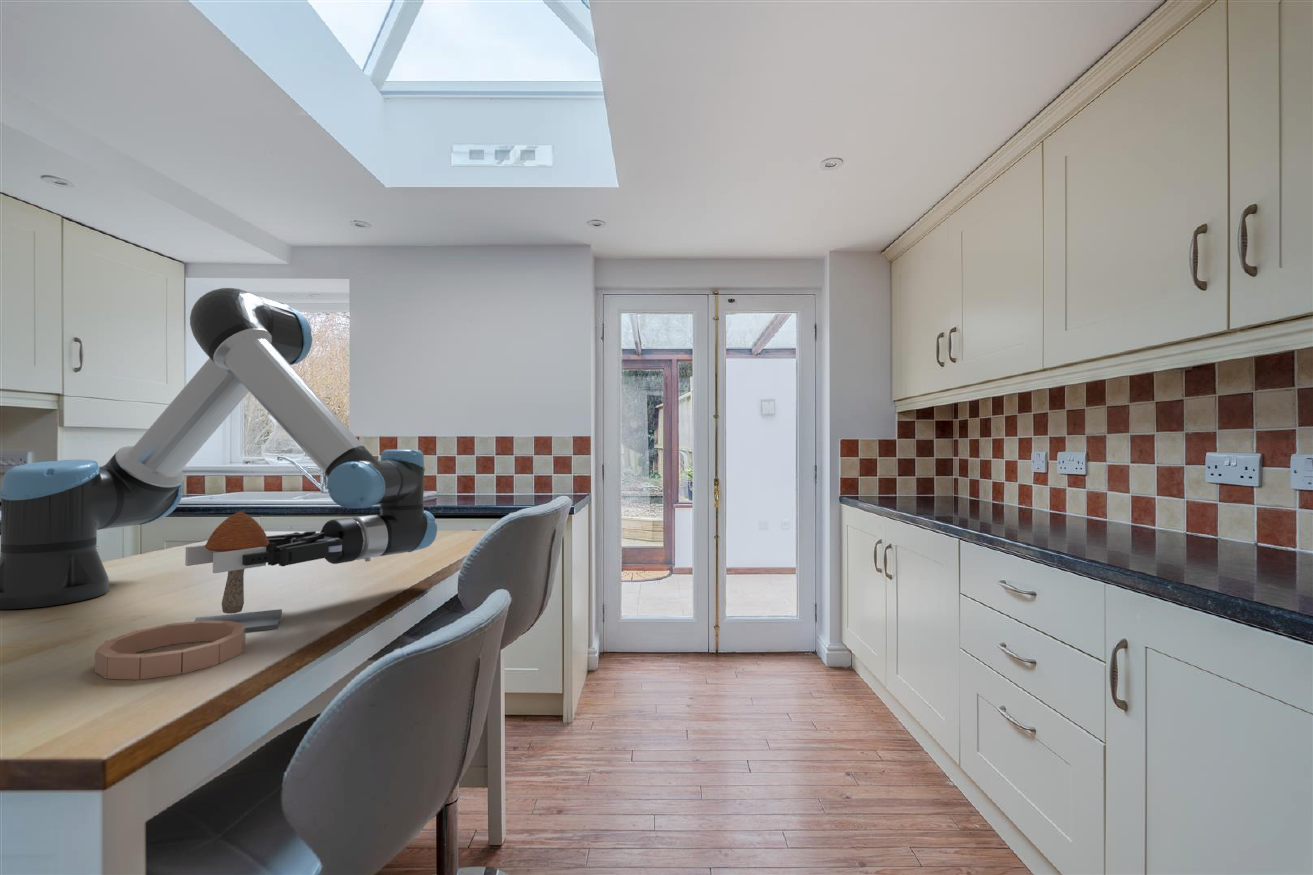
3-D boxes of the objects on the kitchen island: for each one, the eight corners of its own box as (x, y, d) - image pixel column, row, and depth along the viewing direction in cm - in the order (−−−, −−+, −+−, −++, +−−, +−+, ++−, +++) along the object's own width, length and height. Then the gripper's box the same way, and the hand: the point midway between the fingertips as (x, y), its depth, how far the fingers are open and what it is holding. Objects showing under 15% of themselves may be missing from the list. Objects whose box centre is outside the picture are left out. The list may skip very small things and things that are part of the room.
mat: (196, 621, 91) (196, 617, 91) (281, 612, 96) (282, 609, 96) (183, 639, 83) (183, 634, 83) (277, 628, 88) (277, 624, 88)
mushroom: (278, 610, 91) (280, 510, 91) (216, 622, 84) (218, 515, 84) (254, 602, 95) (256, 507, 95) (194, 613, 89) (196, 511, 89)
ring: (118, 648, 79) (118, 629, 79) (249, 632, 86) (250, 615, 86) (78, 687, 66) (78, 665, 67) (236, 666, 73) (236, 645, 73)
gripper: (389, 567, 100) (234, 596, 80) (319, 554, 110) (168, 576, 91) (389, 522, 100) (236, 540, 80) (319, 513, 111) (169, 527, 91)
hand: (200, 559), depth 86 cm, fingers closed on mushroom, 8 cm apart
